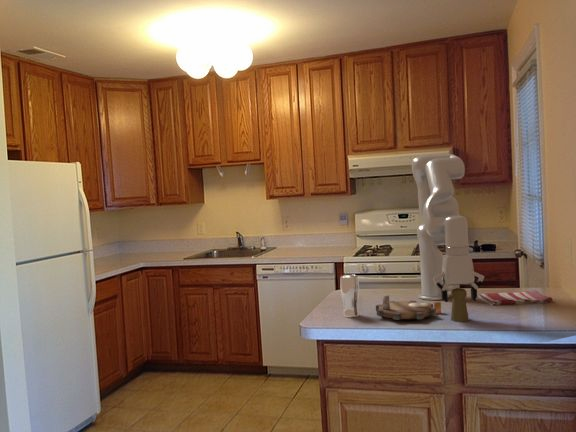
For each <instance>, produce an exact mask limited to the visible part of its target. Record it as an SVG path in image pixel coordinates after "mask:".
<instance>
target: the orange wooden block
mask: <svg viewBox="0 0 576 432" xmlns="http://www.w3.org/2000/svg"><path fill="white" fill-rule="evenodd" d="M433 308H436V314H435V315H437V314H442V303H441V302H440V301H433ZM411 320H412V321H413V320H414V321H415V319H400V320H399V321H411Z"/></svg>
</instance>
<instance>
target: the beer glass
mask: <svg viewBox="0 0 576 432" xmlns="http://www.w3.org/2000/svg"><path fill="white" fill-rule="evenodd" d="M339 281H340V285H339V286H340V295H341V300H342V305H343V311H342V316H343V317H345V318H357V317H359V316H360V311H359V307H358V303H359V296H360V295H359V294H360V285H359V284H360V283H359V276H358V275H356V274H343V275H341V276H340V280H339Z"/></svg>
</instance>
